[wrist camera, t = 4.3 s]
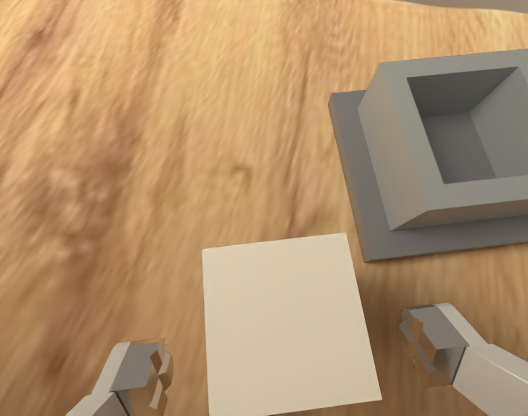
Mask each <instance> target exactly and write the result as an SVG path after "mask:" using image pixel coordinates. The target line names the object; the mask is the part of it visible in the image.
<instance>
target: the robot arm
mask: <svg viewBox="0 0 528 416" xmlns="http://www.w3.org/2000/svg"><path fill="white" fill-rule="evenodd" d="M401 318H402V319H403V322H402V323H401V324H400V325H399V327H398V336H399V341H400V343H401V346H402V348H403V350H404V352H405V353H406V355H408V356H409V357H411V358H412V359H414V369H415V370H416V372H417V374H418V376H419V377H420V379H421V381H422V382H423V384H424V386H425V387H434V386H444V385H452V387H454V388H455V389H456V390H457V391H459V392H460V393H461V394H462V395H464V396H465V397H466V398H467V399H468V400H470V401H471V402H472V403H473V404H475V405H476V406H477V407H478V408H480V409H481V410H482V411H483V412H484V413H486V414H487V415H488V416H528V362H526V361H524V360H522V359H521V358H519V357H517V356H515V355H513V354H511V353H509V352H508V351H506V350H504V349H502V348H500V347H498V346H496V345H495V344H488V343H487V342H486V341H485V340H484V339H483V338H482V337H481V336H480V335H479V334H478V332H477V331H476V330H475V329H474V328H473V327H472V326H471V325H470V324H469V323H468V322H467V320H466V319H465V318H464V317H463V316H462V315H461V314H460V313H459V312H458V311H457V310H456V308H455V307H454V306H453V305H451V304H450V303H440V304H433V305H431V304H430V305H423V306H415V307H408V308H404V309H403V310H402V311H401ZM166 348H167V343H166V340H165V338H161V339H151V340H140V341H131V342H122V343H117V344H116V345H115V346H114V347H113V349H112V351H111V353H110V355H109V357H108V360H107V362H106V364H105V366H104V368H103V370H102V372H101V374H100V377H99V379H98V381H97V383H96V385H95V387H94V389H93V391H92V394H91V395H86V396H85V397H84V398H83V399H82V400H81V401H80V402H79V403H78V404H77V405H76V406H74V407H73V408H72V409H71V410H70V411H69V412H68V413H67V414H66V415H65V416H164V412H165V408H166V403H167V396H166V394H165V391H166V389H167V388H168V387H169V386H170V385H171V381H172V376H173V360H172V356H171V354H170V353H169V352H167V351H166Z"/></svg>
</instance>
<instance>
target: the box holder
mask: <svg viewBox="0 0 528 416" xmlns="http://www.w3.org/2000/svg"><path fill="white" fill-rule="evenodd" d="M328 107H329V111H330V116H331V120H332V124H333V129H334V133H335V137H336V142H337V146H338V150H339V155H340V159H341V163H342V168H343V172H344V176H345V181H346V185H347V189H348V194H349V198H350V203H351V207H352V211H353V216H354V220H355V224H356V229H357V233H358V237H359V242H360V246H361V250H362V255H363V259H364V262H370V261H379V260H387V259H395V258H404V257H412V256H420V255H429V254H437V253H445V252H454V251H462V250H470V249H479V248H487V247H495V246H504V245H512V244H520V243H528V49H518V50H508V51H497V52H487V53H477V54H466V55H456V56H445V57H435V58H424V59H414V60H404V61H393V62H383V63H379V65H378V68H377V70H376V72H375V74H374V76H373V78H372V80H371V82H370V84H369V86H368V88H367V90H362V91H352V92H342V93H332V94H331V97H330V100H329V103H328Z"/></svg>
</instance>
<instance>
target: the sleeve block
mask: <svg viewBox="0 0 528 416" xmlns="http://www.w3.org/2000/svg"><path fill="white" fill-rule="evenodd" d="M202 265H203V288H204V310H205V332H206V355H207V377H208V400H209V416H266V415H274V414H281V413H288V412H295V411H303V410H310V409H317V408H325V407H332V406H339V405H346V404H354V403H361V402H368V401H376V400H382V397H381V392H380V387H379V383H378V378H377V374H376V369H375V364H374V360H373V355H372V351H371V346H370V341H369V337H368V332H367V328H366V323H365V318H364V314H363V309H362V304H361V300H360V295H359V291H358V286H357V281H356V277H355V272H354V268H353V263H352V258H351V254H350V249H349V245H348V240H347V235H346V232H344V233H335V234H327V235H318V236H309V237H301V238H292V239H284V240H275V241H266V242H258V243H249V244H240V245H232V246H223V247H215V248H206V249H202Z"/></svg>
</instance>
